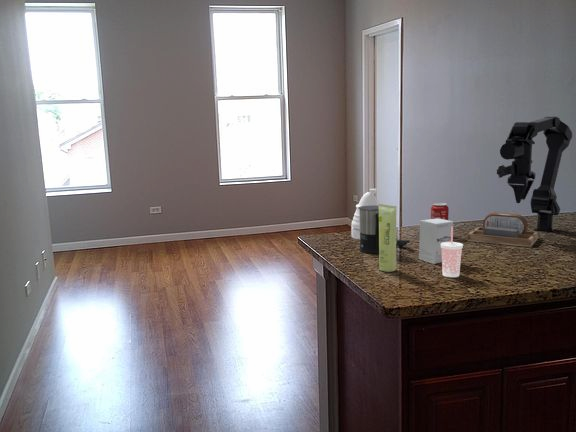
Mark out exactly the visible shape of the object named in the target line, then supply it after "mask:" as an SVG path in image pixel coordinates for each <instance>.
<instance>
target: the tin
mask: <svg viewBox="0 0 576 432" xmlns="http://www.w3.org/2000/svg"><path fill="white" fill-rule="evenodd" d="M487 226H489V227H499V228H509V229H519V234H524V233H525V232H526V231H528V226H529V224H528V222H527V219H526V218H525V217H524V216H523V215H521V214H518V213H508V212H507V213H506V212H505V213H504V212H497V211H494V212H490V213H488V215H486V216H485V218H484V220H483V223H482V227H484V228H485V227H487Z"/></svg>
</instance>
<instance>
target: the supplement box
mask: <svg viewBox="0 0 576 432" xmlns="http://www.w3.org/2000/svg"><path fill="white" fill-rule="evenodd" d="M451 227H453V228H454V221H452V220H450V219H448V220H444V219H438V218H437V219H431V218H429V219H422V220H420V221H419V242H418V243H419V246H418V249H419V250H418V251H419V252H418V253H419V254H418V259H419V260H421V261H424V262H426V263H429V264H433V265H435V264H442V248H441V243H443V242H451Z"/></svg>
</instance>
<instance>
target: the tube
mask: <svg viewBox="0 0 576 432" xmlns="http://www.w3.org/2000/svg"><path fill="white" fill-rule="evenodd" d="M396 242H397V205H389V204H384V203H383V204H382V203H379V253H378V255H379V256H378V257H379V259H378V260H379V261H378V262H379V270H380V271H381V272H386V273H387V272H388V273H389V272H394V271H396V270H397V246H396Z"/></svg>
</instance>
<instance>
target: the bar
mask: <svg viewBox="0 0 576 432" xmlns="http://www.w3.org/2000/svg"><path fill="white" fill-rule="evenodd" d="M483 235H489V236H500V237H511V238H519V229H509V228H499V227H489V226H487V227H485V228H484V229H483Z"/></svg>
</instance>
